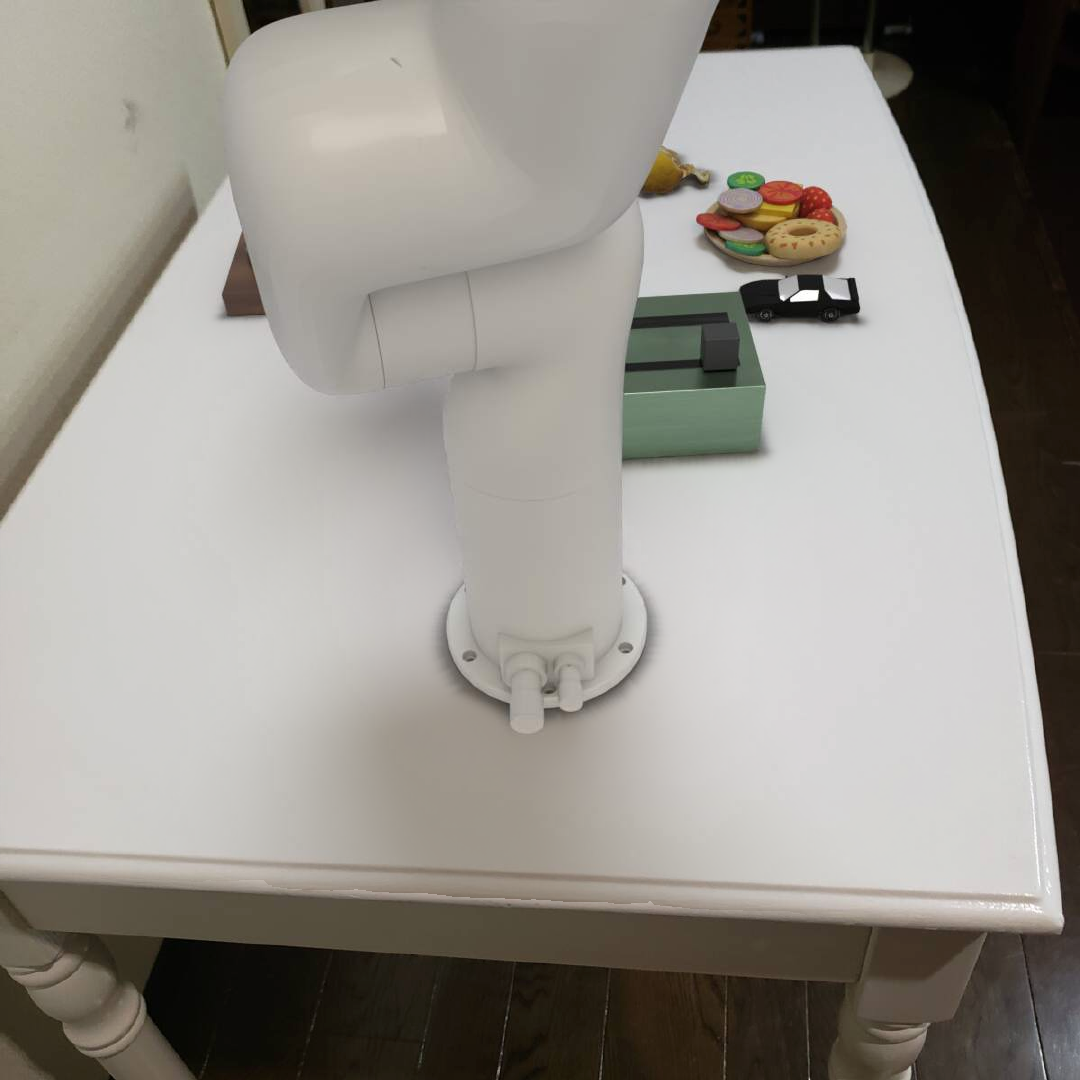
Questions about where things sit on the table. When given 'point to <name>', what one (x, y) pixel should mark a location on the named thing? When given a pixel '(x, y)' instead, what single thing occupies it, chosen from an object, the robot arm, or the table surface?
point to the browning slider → (719, 346)
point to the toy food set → (773, 221)
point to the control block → (242, 285)
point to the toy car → (801, 297)
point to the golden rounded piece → (670, 172)
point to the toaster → (689, 381)
